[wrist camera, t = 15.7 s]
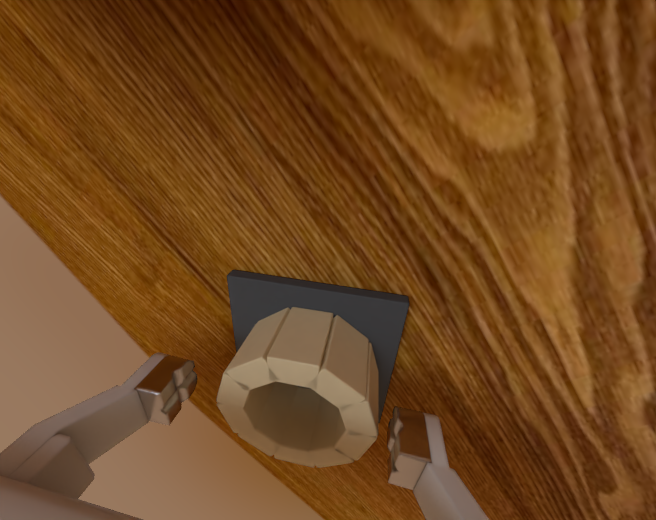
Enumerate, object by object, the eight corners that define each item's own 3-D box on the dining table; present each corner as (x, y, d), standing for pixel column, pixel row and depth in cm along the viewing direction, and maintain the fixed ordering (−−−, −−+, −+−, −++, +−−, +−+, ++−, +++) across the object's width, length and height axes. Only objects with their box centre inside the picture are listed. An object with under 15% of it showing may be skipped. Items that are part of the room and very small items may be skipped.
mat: (233, 269, 12) (226, 275, 12) (408, 295, 11) (409, 303, 10) (246, 385, 16) (241, 394, 15) (379, 413, 15) (379, 424, 14)
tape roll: (242, 298, 12) (203, 345, 9) (388, 320, 11) (391, 380, 8) (253, 391, 15) (225, 447, 12) (369, 415, 14) (367, 481, 11)
